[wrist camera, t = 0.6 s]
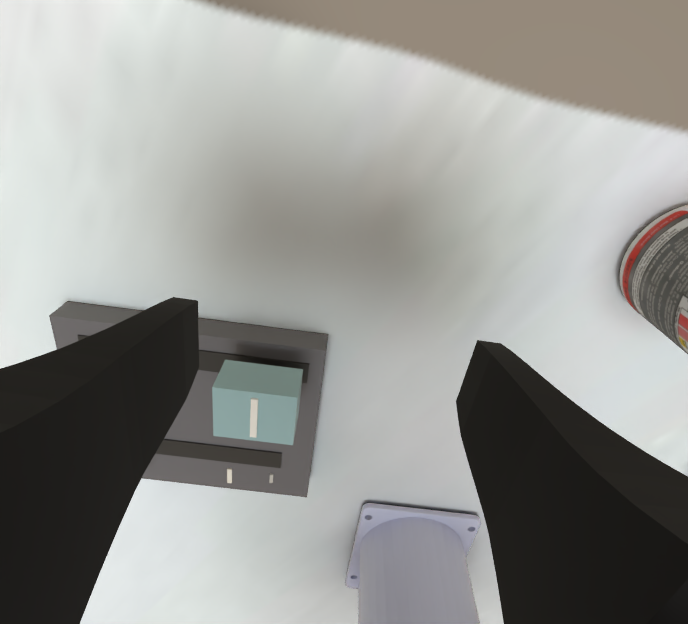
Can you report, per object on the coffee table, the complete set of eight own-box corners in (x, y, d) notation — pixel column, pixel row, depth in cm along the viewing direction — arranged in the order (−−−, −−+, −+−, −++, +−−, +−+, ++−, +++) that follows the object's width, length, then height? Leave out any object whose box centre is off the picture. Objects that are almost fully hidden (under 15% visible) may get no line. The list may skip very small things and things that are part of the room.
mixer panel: (309, 477, 28) (306, 498, 27) (98, 452, 28) (84, 473, 26) (328, 334, 23) (325, 351, 21) (67, 301, 22) (48, 316, 21)
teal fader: (301, 398, 22) (292, 446, 20) (231, 390, 22) (212, 437, 19) (305, 354, 21) (297, 399, 18) (232, 345, 21) (211, 388, 18)
